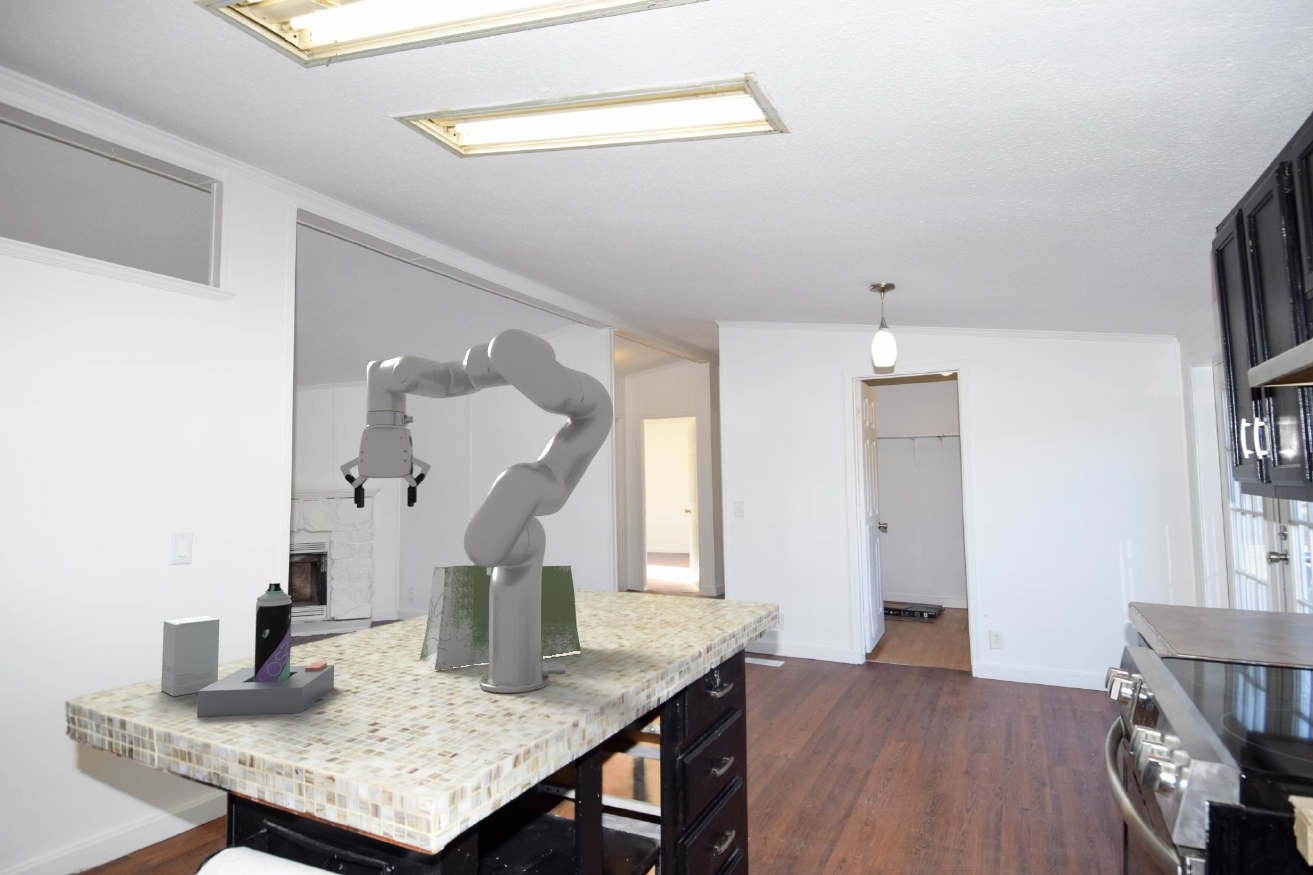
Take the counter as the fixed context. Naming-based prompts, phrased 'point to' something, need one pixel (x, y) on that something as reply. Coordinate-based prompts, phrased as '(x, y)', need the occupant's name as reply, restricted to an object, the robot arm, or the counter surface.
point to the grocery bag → (465, 615)
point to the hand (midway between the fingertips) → (385, 507)
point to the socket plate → (266, 692)
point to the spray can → (273, 635)
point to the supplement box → (189, 654)
